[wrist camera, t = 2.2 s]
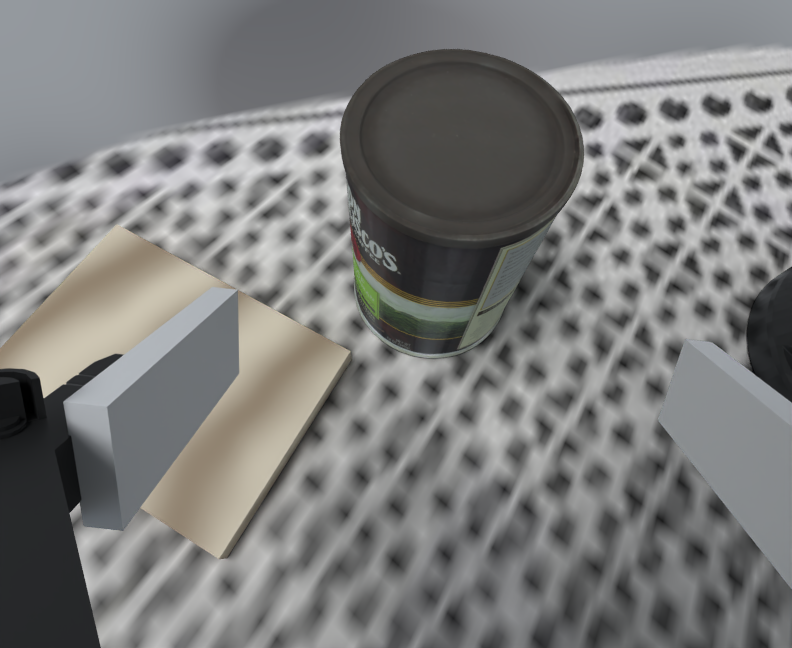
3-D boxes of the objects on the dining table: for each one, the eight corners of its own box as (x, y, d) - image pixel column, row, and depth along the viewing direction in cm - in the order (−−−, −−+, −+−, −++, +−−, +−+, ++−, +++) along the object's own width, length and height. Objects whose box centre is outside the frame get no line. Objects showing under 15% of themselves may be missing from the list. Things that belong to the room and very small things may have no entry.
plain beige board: (351, 359, 32) (350, 351, 31) (226, 558, 27) (218, 559, 26) (126, 236, 35) (116, 224, 34) (-21, 397, 30) (-40, 390, 29)
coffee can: (379, 379, 32) (379, 266, 19) (337, 243, 35) (313, 70, 22) (531, 336, 33) (629, 203, 20) (475, 209, 37) (527, 29, 24)
